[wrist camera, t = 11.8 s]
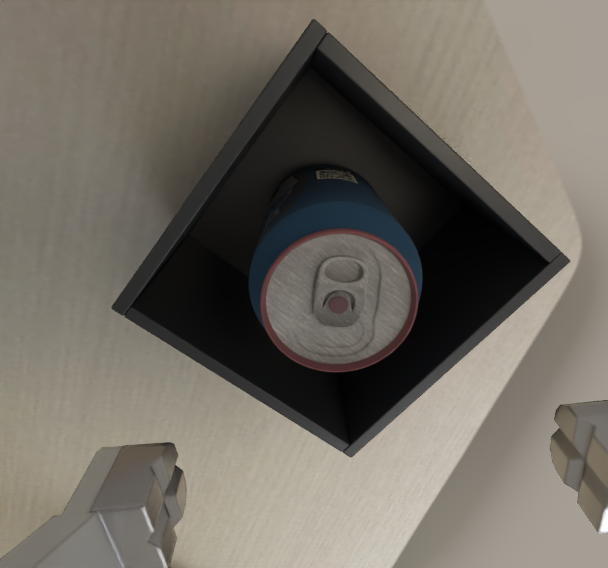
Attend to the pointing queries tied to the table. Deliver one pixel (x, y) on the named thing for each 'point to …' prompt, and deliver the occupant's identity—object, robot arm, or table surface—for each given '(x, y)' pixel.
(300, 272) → the soda can
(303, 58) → the trash bin
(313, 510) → the table surface
